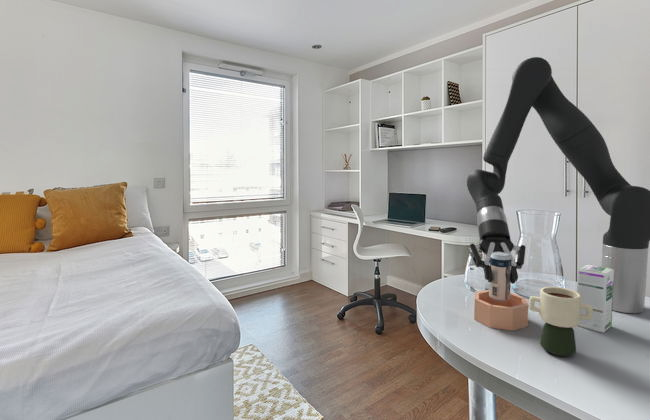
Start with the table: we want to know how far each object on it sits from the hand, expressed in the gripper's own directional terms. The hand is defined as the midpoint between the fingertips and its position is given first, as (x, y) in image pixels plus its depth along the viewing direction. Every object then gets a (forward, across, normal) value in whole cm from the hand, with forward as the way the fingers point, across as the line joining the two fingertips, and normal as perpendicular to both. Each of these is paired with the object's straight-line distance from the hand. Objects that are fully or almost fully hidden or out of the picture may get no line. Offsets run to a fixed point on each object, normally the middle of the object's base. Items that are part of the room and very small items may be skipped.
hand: (502, 281), depth 85 cm
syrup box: (+7, +21, +9) cm, 24 cm away
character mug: (+17, +8, -1) cm, 19 cm away
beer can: (+3, 0, +5) cm, 6 cm away
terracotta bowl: (+6, 0, +9) cm, 11 cm away
